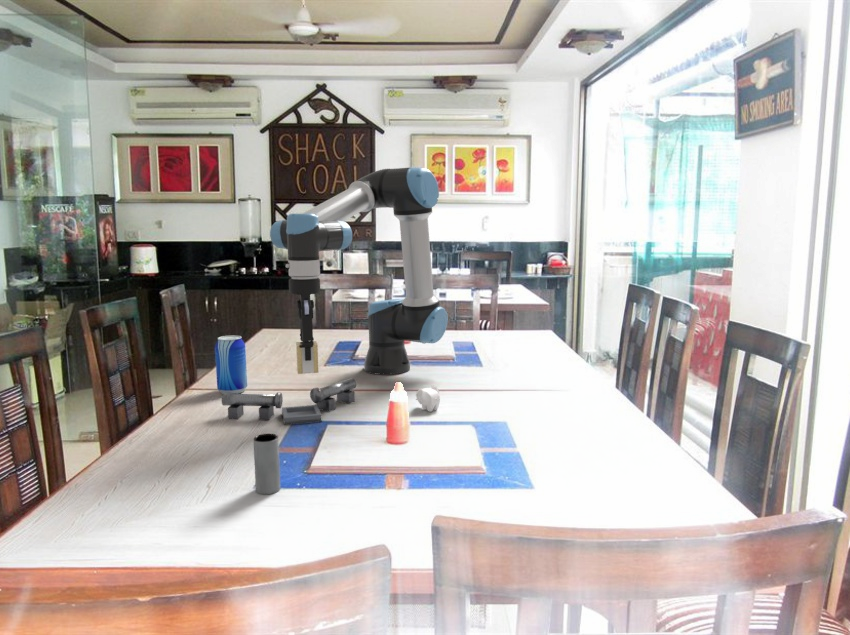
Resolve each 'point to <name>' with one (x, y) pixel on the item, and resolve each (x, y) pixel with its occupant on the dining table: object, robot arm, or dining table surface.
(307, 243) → the robot arm
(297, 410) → the grey square tray
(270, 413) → the shaft
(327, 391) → the shaft
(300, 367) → the block
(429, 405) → the elephant figurine
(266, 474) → the grey hollow tube
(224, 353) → the beer can
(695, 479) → the dining table surface
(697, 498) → the dining table surface
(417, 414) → the dining table surface
